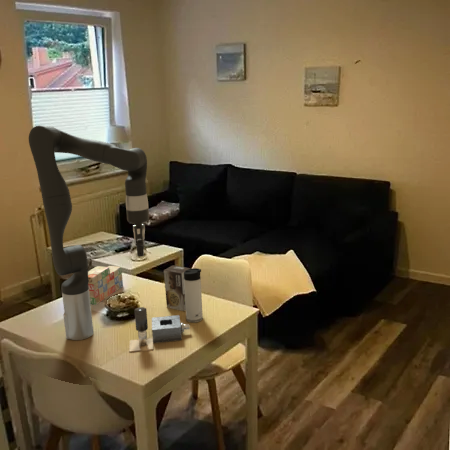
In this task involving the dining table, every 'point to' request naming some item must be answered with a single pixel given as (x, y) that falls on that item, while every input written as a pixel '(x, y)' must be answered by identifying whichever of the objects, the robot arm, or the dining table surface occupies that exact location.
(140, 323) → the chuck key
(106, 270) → the stack of blocks
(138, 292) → the dining table surface
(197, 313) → the travel mug
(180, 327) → the block
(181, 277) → the coffee box
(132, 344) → the cork mat
